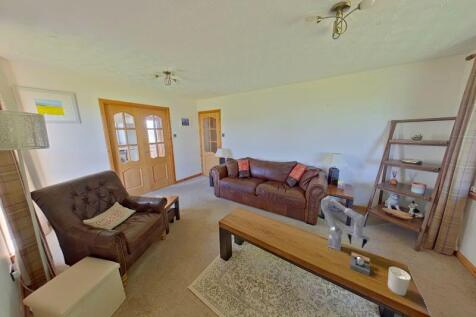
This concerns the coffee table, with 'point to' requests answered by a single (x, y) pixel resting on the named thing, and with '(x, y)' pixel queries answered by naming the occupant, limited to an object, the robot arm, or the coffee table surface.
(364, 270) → the socket block
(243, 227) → the coffee table surface
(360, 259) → the metal peg
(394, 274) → the candle holder
